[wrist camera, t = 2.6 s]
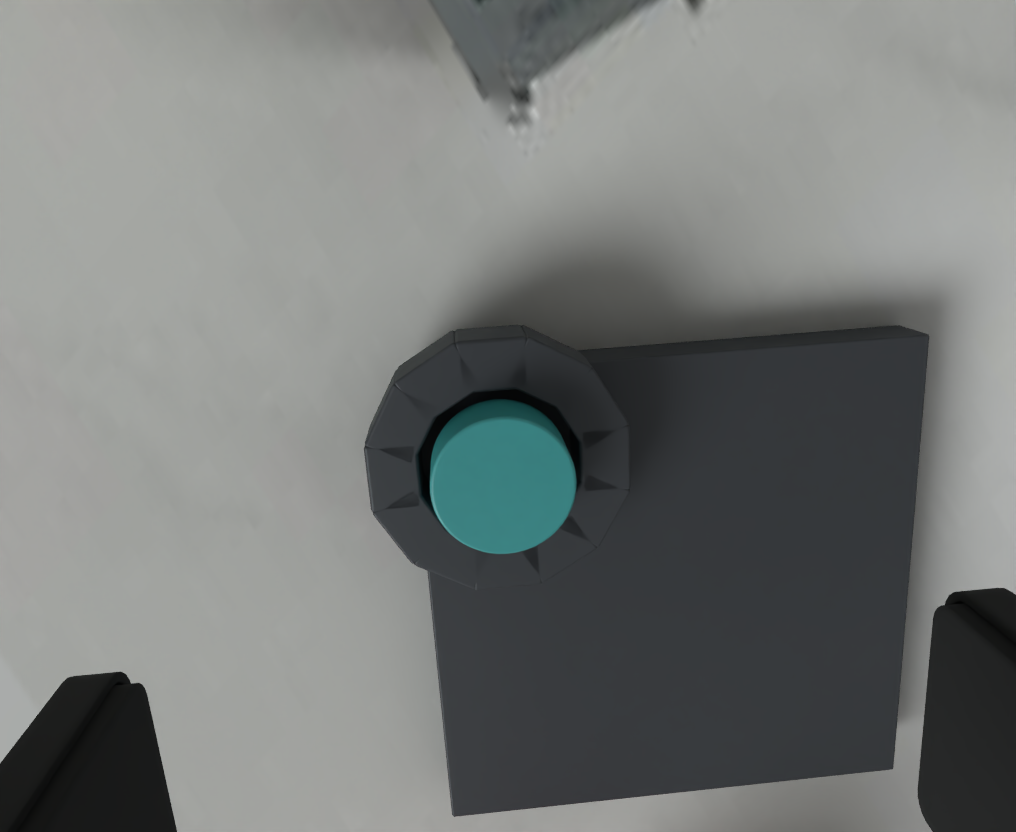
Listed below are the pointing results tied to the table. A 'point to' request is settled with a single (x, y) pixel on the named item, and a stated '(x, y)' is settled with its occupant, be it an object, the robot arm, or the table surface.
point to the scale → (670, 562)
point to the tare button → (501, 477)
